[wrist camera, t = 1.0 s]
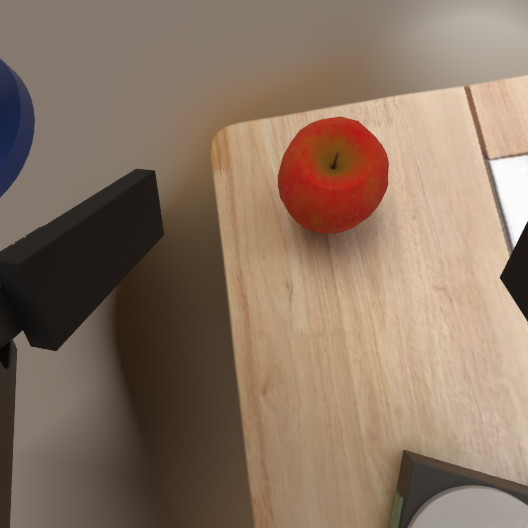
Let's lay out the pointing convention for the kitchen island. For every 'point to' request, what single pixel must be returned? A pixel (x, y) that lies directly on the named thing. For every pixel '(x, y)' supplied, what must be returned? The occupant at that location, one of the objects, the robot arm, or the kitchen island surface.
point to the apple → (333, 175)
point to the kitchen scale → (455, 497)
